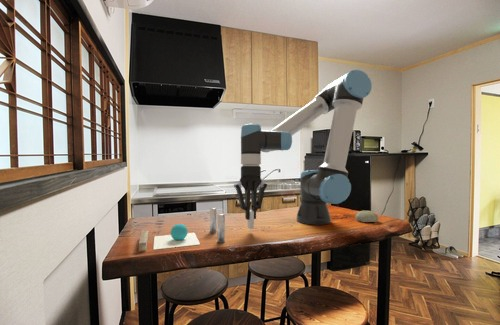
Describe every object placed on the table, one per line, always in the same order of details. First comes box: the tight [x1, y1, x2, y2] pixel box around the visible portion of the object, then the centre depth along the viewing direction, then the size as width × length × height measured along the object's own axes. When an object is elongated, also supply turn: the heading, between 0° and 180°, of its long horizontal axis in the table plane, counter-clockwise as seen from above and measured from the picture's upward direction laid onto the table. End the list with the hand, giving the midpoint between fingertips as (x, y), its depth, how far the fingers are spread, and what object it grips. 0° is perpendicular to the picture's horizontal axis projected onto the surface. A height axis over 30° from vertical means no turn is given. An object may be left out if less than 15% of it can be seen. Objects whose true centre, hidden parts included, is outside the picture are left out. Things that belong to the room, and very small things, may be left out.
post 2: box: [216, 213, 226, 244], centre depth 81 cm, size 2×2×9 cm
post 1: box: [209, 207, 217, 234], centre depth 92 cm, size 2×2×9 cm
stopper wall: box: [138, 230, 149, 253], centre depth 78 cm, size 2×14×2 cm, turn 21°
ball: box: [170, 223, 189, 241], centre depth 82 cm, size 6×6×6 cm
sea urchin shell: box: [355, 210, 379, 223], centre depth 110 cm, size 9×8×8 cm
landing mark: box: [152, 232, 201, 251], centre depth 82 cm, size 14×14×1 cm
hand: (250, 227), depth 91 cm, fingers closed
